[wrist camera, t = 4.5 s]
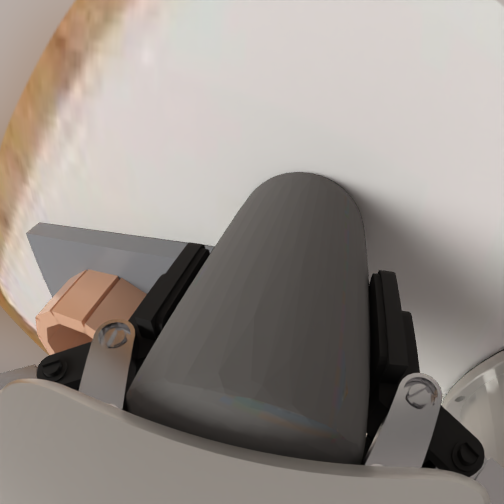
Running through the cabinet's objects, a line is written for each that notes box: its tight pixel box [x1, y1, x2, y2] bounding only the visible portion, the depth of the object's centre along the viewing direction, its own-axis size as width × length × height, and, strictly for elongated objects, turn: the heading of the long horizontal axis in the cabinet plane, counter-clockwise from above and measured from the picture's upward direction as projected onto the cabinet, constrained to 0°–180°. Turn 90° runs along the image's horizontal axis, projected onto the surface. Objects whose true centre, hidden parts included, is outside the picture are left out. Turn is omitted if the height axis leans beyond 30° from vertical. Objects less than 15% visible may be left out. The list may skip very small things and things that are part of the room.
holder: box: [26, 223, 214, 355], centre depth 20 cm, size 14×14×6 cm
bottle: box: [126, 172, 370, 465], centre depth 9 cm, size 6×6×15 cm
